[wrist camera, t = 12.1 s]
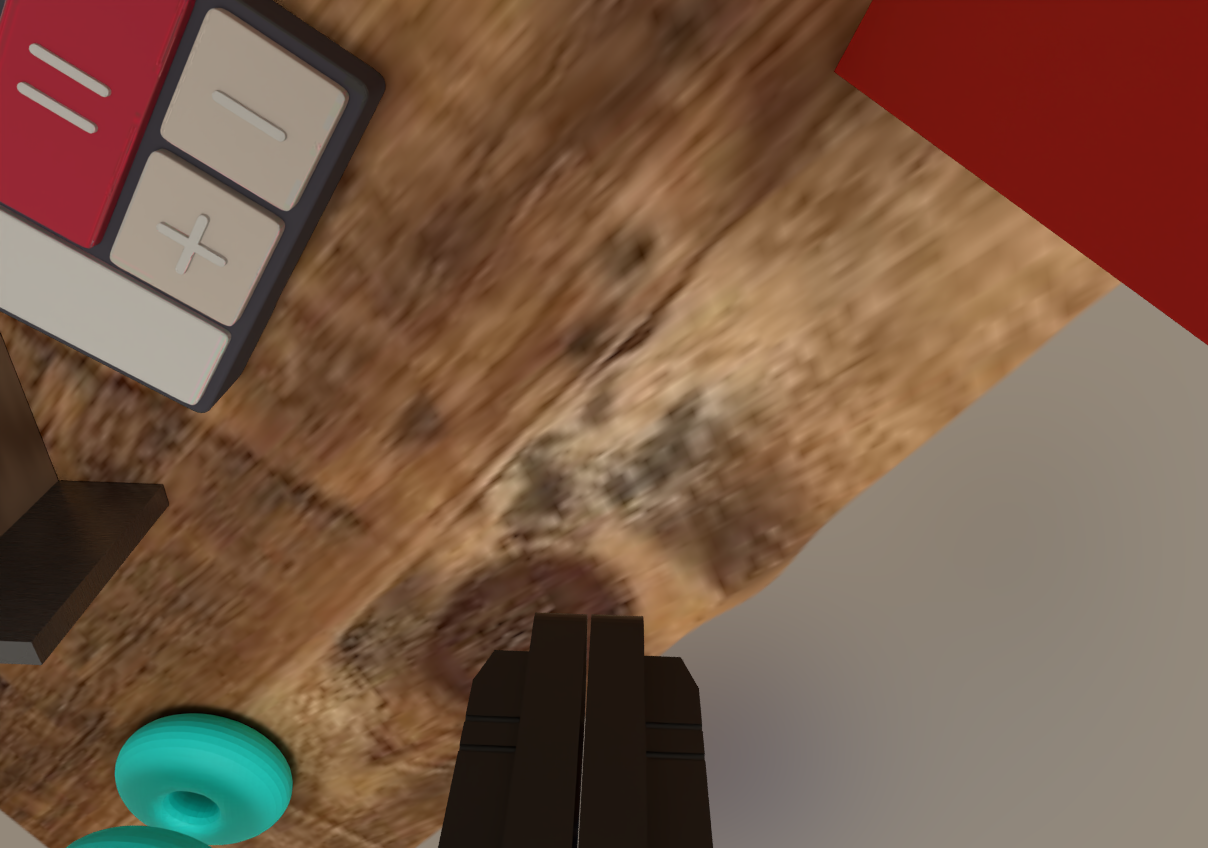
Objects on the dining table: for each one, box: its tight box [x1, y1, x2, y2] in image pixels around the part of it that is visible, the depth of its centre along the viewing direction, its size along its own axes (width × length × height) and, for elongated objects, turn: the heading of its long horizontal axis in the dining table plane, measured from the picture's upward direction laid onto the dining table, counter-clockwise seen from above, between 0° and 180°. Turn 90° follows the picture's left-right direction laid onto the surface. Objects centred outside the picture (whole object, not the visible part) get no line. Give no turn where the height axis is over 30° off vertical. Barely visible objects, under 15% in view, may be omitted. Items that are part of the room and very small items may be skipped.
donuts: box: [66, 713, 293, 848], centre depth 45 cm, size 10×10×10 cm
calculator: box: [0, 0, 385, 413], centre depth 30 cm, size 11×4×15 cm
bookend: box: [0, 481, 169, 665], centre depth 35 cm, size 1×6×10 cm, turn 89°
